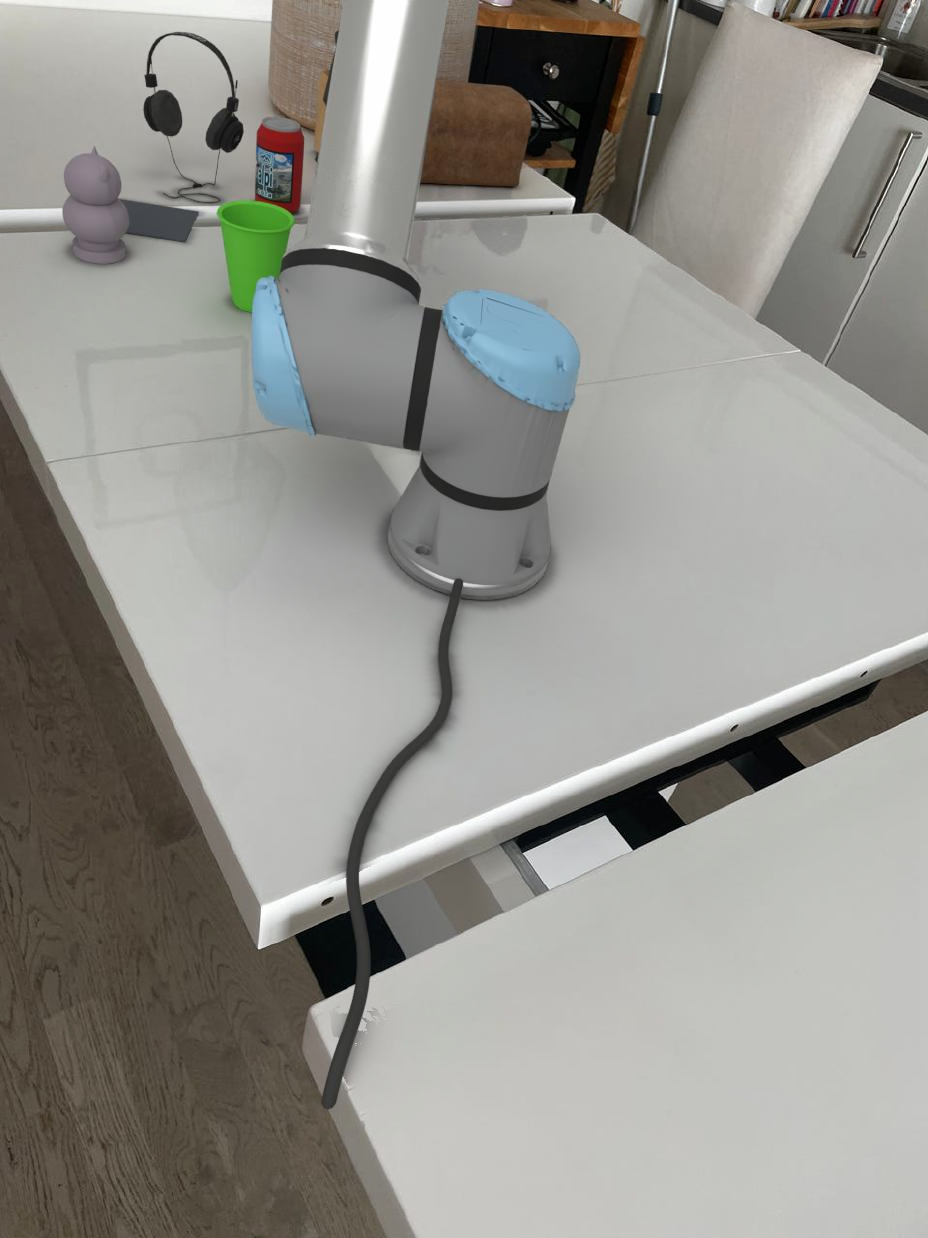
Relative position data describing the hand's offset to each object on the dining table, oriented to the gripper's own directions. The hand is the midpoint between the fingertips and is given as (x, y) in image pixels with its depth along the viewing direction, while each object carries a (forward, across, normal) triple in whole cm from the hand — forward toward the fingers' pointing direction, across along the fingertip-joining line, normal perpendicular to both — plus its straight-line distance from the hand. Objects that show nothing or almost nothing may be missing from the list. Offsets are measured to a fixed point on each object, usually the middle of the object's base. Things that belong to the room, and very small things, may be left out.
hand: (323, 167), depth 123 cm
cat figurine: (+22, +22, +2) cm, 31 cm away
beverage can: (0, +17, -21) cm, 27 cm away
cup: (+19, 0, 0) cm, 19 cm away
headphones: (+3, +31, -18) cm, 36 cm away
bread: (-24, +12, -46) cm, 53 cm away
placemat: (+12, +25, -7) cm, 29 cm away
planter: (-35, +34, -58) cm, 76 cm away
